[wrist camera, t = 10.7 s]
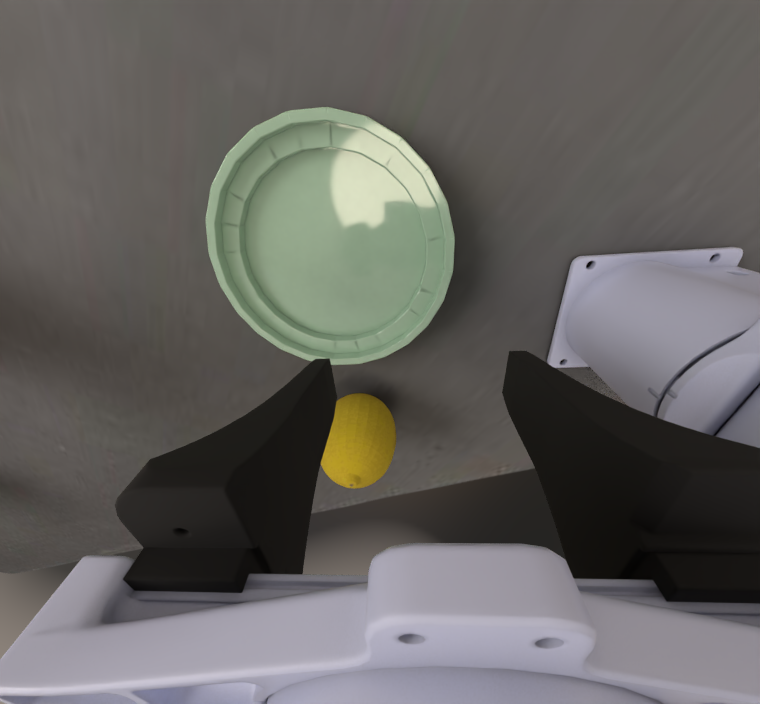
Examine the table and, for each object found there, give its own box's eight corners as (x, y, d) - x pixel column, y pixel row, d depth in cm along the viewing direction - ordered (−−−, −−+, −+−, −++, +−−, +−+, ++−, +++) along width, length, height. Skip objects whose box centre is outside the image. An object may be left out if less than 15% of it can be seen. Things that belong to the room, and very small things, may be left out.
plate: (454, 102, 15) (462, 92, 13) (444, 345, 22) (448, 361, 20) (189, 128, 16) (162, 123, 14) (260, 352, 23) (248, 368, 21)
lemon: (373, 433, 27) (366, 522, 20) (318, 406, 26) (291, 491, 19) (409, 393, 25) (414, 478, 18) (350, 361, 23) (331, 440, 17)
